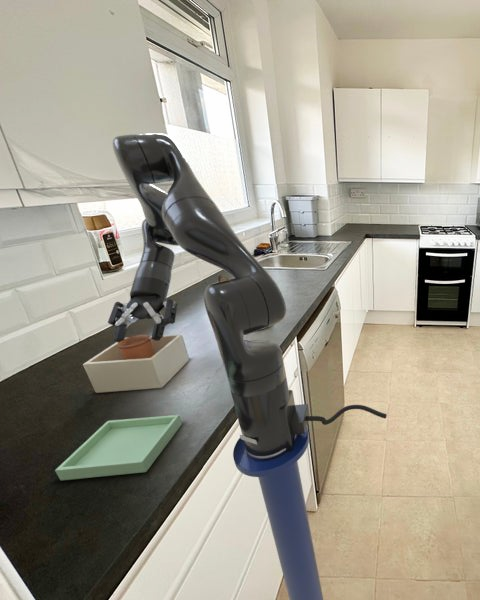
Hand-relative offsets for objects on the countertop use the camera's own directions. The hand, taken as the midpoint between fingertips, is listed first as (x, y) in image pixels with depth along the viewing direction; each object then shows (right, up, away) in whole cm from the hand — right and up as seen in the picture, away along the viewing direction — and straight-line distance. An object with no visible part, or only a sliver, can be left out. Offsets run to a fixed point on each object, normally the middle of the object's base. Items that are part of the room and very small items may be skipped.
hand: (137, 340), depth 77 cm
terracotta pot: (0, -8, +2) cm, 8 cm away
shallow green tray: (+15, -17, -20) cm, 30 cm away
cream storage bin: (0, -9, +2) cm, 9 cm away
